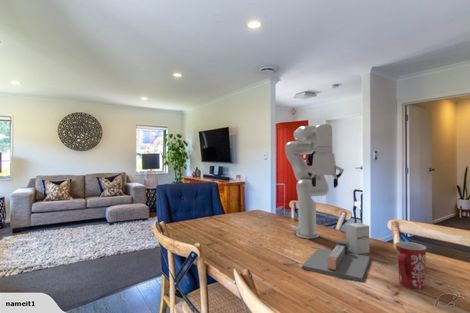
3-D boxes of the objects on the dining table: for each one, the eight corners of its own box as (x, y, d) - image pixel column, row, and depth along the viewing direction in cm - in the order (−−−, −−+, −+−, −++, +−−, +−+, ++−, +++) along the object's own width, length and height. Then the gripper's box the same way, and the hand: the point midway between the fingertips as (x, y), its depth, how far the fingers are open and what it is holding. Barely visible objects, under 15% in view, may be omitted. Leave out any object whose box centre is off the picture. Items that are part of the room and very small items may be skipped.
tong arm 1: (327, 268, 104) (327, 258, 104) (336, 253, 119) (336, 244, 119) (331, 269, 103) (331, 259, 103) (340, 254, 119) (340, 245, 119)
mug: (403, 276, 100) (402, 239, 100) (431, 285, 93) (431, 246, 93) (385, 285, 93) (385, 246, 93) (415, 296, 86) (414, 254, 86)
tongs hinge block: (335, 253, 121) (335, 242, 121) (337, 251, 124) (337, 240, 124) (347, 255, 118) (347, 243, 118) (348, 253, 121) (348, 241, 121)
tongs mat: (301, 268, 108) (301, 265, 108) (318, 250, 128) (318, 247, 128) (362, 281, 96) (362, 278, 96) (370, 259, 116) (370, 256, 116)
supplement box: (356, 255, 122) (356, 227, 122) (345, 249, 129) (345, 223, 129) (370, 253, 124) (369, 225, 124) (358, 247, 131) (358, 221, 131)
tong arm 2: (331, 269, 103) (331, 259, 103) (341, 254, 118) (341, 245, 118) (336, 270, 102) (335, 259, 102) (345, 255, 118) (344, 246, 118)
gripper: (303, 151, 129) (304, 186, 129) (341, 150, 120) (342, 188, 120) (308, 151, 135) (308, 185, 135) (344, 150, 126) (345, 186, 126)
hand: (324, 186), depth 127 cm, fingers open, 9 cm apart
